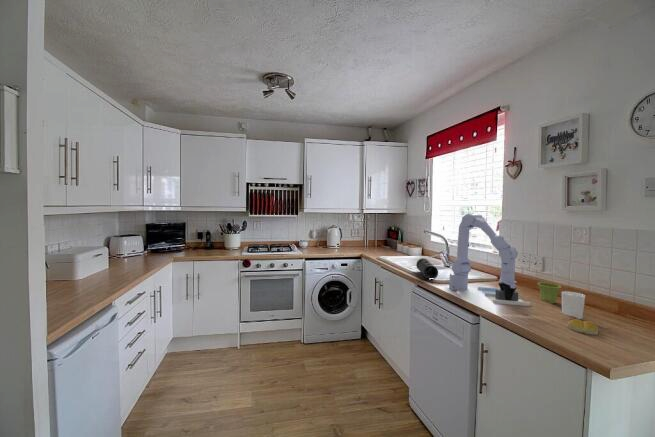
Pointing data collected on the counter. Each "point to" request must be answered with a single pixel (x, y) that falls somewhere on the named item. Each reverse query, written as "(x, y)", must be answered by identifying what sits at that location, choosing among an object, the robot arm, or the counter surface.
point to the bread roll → (583, 326)
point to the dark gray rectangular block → (501, 295)
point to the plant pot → (549, 292)
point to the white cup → (573, 304)
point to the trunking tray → (491, 293)
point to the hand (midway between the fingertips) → (506, 298)
